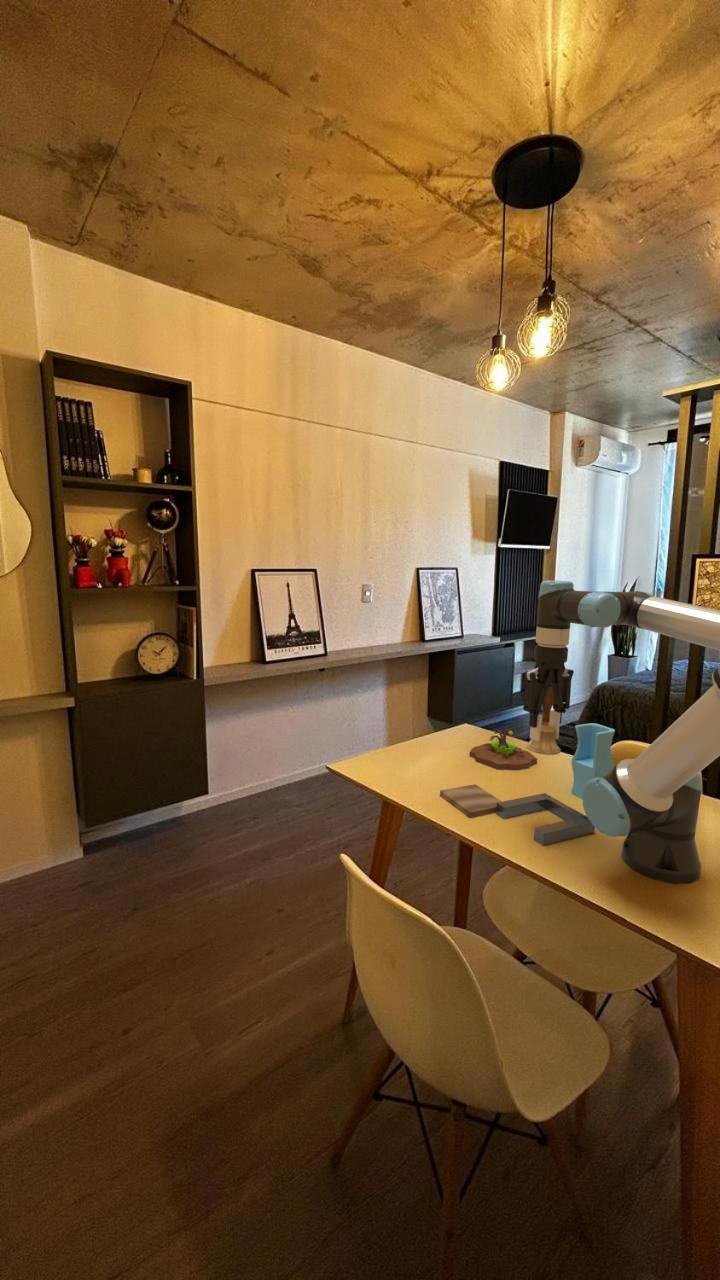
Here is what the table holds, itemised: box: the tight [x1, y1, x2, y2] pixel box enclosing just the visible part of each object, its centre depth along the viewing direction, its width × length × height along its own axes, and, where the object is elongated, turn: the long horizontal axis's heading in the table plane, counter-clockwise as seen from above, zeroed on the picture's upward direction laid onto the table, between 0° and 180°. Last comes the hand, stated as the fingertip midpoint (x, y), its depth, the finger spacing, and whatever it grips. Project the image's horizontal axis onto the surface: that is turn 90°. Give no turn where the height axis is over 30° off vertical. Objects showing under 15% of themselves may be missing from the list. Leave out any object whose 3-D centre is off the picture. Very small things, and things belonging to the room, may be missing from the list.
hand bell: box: [525, 685, 562, 756], centre depth 128 cm, size 8×8×16 cm
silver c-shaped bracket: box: [495, 792, 596, 846], centre depth 133 cm, size 17×16×3 cm
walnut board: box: [439, 784, 503, 819], centre depth 143 cm, size 14×12×2 cm
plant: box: [468, 728, 538, 771], centre depth 176 cm, size 20×20×11 cm
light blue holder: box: [570, 722, 616, 799], centre depth 149 cm, size 8×8×20 cm
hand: (544, 738), depth 129 cm, fingers closed on hand bell, 5 cm apart
